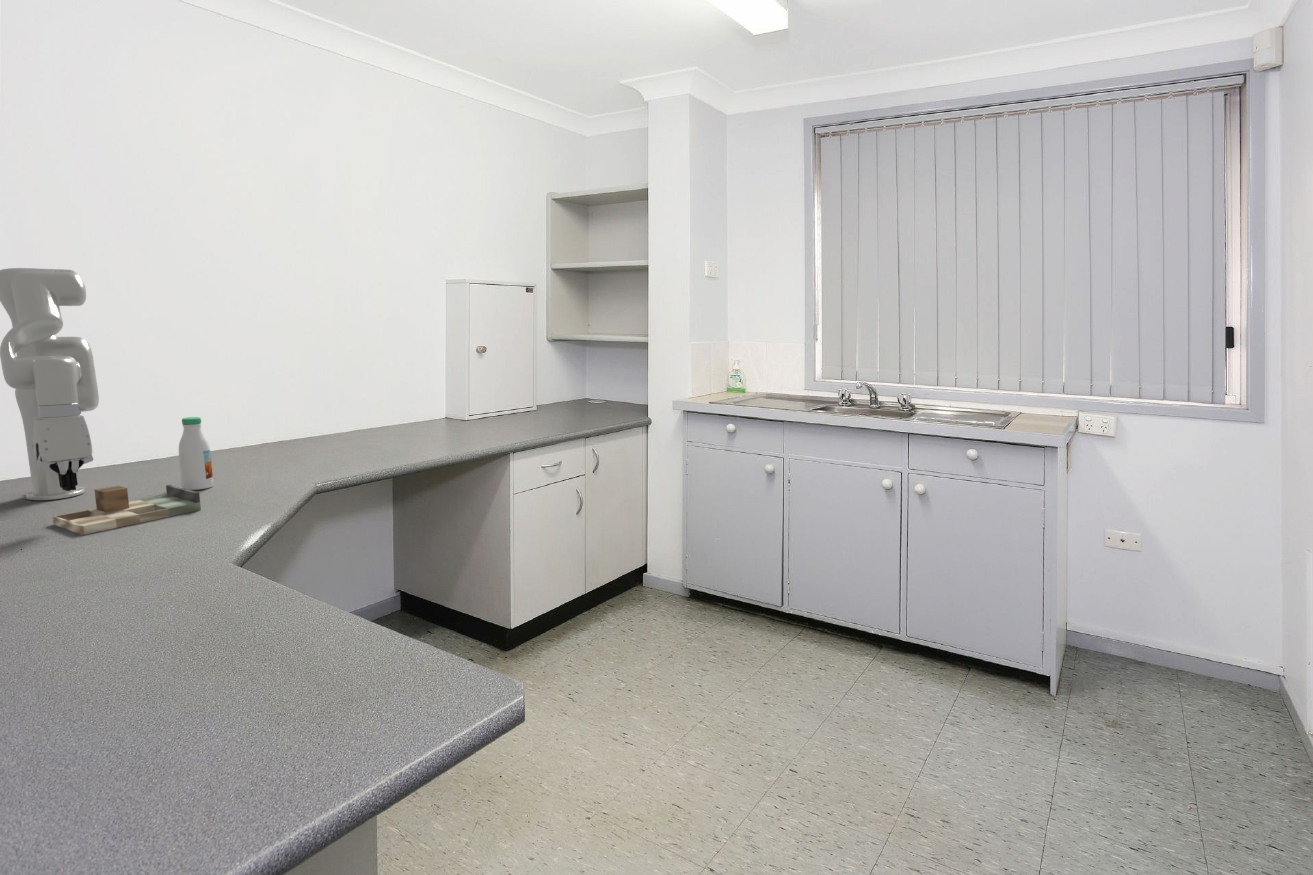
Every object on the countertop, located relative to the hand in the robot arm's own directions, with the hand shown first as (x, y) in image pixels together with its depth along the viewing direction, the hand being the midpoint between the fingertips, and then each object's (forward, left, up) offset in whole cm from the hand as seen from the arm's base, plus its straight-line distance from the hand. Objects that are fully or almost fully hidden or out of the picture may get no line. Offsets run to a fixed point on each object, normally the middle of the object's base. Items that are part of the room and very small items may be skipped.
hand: (69, 489), depth 180 cm
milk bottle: (-15, +36, -9) cm, 40 cm away
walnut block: (-1, +9, -7) cm, 11 cm away
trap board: (+3, +11, -9) cm, 14 cm away
